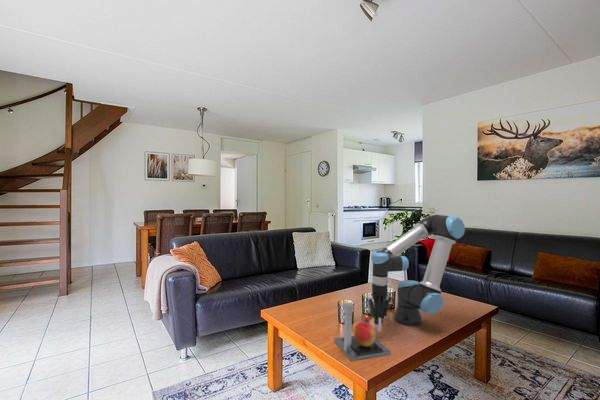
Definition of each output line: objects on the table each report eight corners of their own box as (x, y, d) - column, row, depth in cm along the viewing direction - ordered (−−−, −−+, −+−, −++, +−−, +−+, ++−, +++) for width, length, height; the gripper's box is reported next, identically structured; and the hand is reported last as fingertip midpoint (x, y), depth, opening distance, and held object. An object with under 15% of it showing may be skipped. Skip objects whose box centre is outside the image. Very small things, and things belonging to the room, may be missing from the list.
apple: (358, 351, 132) (359, 329, 132) (351, 341, 142) (351, 320, 141) (379, 349, 134) (379, 327, 134) (370, 339, 143) (370, 319, 143)
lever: (368, 334, 150) (368, 313, 150) (371, 337, 147) (371, 315, 147) (361, 335, 149) (361, 314, 149) (364, 338, 146) (364, 316, 146)
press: (369, 336, 152) (371, 292, 152) (390, 354, 135) (392, 305, 135) (333, 341, 146) (334, 296, 146) (349, 361, 129) (351, 309, 128)
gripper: (386, 281, 155) (385, 325, 156) (364, 282, 151) (363, 328, 152) (395, 285, 148) (393, 332, 148) (372, 286, 144) (370, 335, 144)
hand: (378, 330), depth 150 cm, fingers closed
